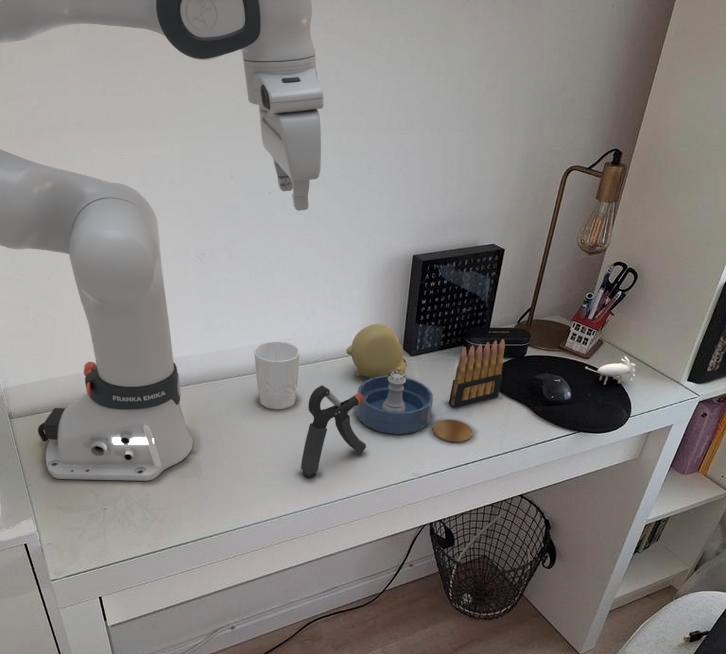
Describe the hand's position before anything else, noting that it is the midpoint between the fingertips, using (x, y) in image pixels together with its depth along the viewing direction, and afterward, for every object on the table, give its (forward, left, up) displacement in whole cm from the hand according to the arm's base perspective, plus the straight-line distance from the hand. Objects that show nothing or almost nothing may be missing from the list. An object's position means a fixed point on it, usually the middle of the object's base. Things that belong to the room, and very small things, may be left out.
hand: (293, 199), depth 94 cm
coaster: (+28, -3, -39) cm, 48 cm away
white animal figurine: (+67, +10, -39) cm, 78 cm away
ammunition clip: (+36, +7, -39) cm, 54 cm away
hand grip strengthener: (+5, -9, -39) cm, 40 cm away
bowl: (+19, +4, -39) cm, 43 cm away
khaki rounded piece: (+20, +19, -39) cm, 48 cm away
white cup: (-1, +12, -39) cm, 41 cm away
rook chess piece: (+19, +4, -39) cm, 43 cm away
